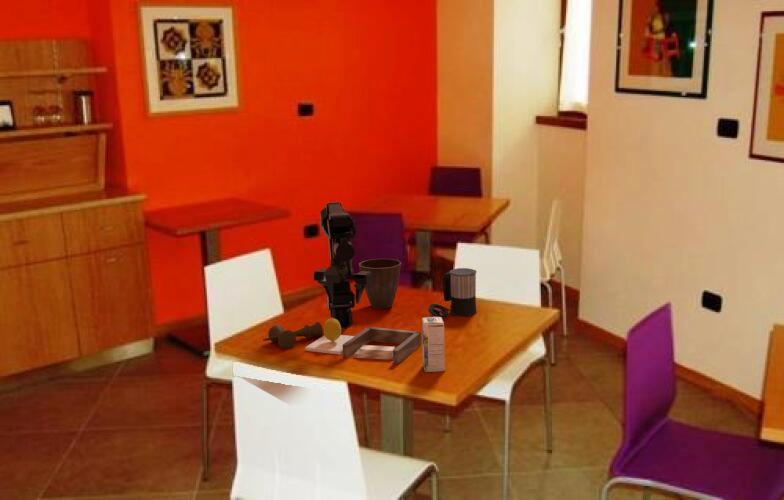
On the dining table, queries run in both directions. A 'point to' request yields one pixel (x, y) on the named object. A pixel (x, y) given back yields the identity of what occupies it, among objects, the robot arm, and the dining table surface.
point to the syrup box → (433, 344)
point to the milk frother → (458, 293)
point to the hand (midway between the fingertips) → (344, 302)
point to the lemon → (332, 329)
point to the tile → (329, 345)
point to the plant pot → (382, 281)
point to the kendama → (292, 334)
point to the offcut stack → (375, 352)
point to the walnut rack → (404, 338)
